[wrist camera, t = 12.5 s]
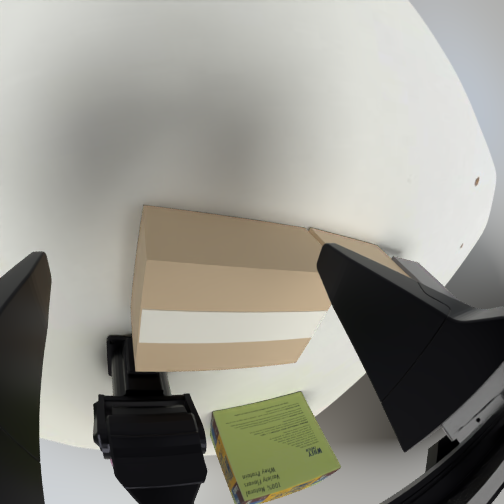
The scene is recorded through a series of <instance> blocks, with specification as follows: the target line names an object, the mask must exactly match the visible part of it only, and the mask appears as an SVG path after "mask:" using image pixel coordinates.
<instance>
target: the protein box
mask: <svg viewBox="0 0 504 504" xmlns="http://www.w3.org/2000/svg"><path fill="white" fill-rule="evenodd" d="M210 436H211V439H212V442H213V445H214V448H215V451H216V454H217V457H218V460H219V463H220V465H221V468H222V471H223V473H224V476H225V479H226V482H227V484H228V487H229V490H230V492H231V495H232V498H233V500H234V503H235V504H261V503H264V502H268V501H271V500H274V499H277V498H280V497H283V496H286V495H289V494H292V493H294V492H297V491H300V490H302V489H305V488H307V487H310V486H312V485H315V484H317V483H319V482H321V481H322V480H324V479H325V478H327V477H328V476H330V475H331V474H333V473H334V472H336V471H337V470H338V469H340V468H341V466H340V464H339V462H338V460H337V458H336V456H335V454H334V453H333V451H332V449H331V447H330V445H329V443H328V441H327V440H326V438H325V436H324V434H323V432H322V430H321V428H320V427H319V425H318V423H317V421H316V419H315V417H314V415H313V413H312V411H311V409H310V408H309V406H308V404H307V402H306V400H305V398H304V396H303V394H302V392H297V393H293V394H290V395H286V396H282V397H278V398H274V399H270V400H266V401H262V402H257V403H253V404H248V405H244V406H239V407H234V408H229V409H224V410H219V411H214V412H212V422H211V433H210Z"/></svg>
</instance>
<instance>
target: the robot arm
mask: <svg viewBox="0 0 504 504" xmlns="http://www.w3.org/2000/svg"><path fill="white" fill-rule="evenodd" d="M316 266H317V271H318V273H319V275H320V278H321V280H322V283H323V285H324V287H325V290H326V292H327V295H328V297H329V300H330V302H331V304H332V306H333V308H334V310H335V312H336V314H337V316H338V318H339V320H340V321H341V323H342V325H343V327H344V329H345V331H346V333H347V335H348V337H349V339H350V341H351V343H352V345H353V347H354V349H355V351H356V353H357V355H358V357H359V359H360V361H361V363H362V365H363V367H364V369H365V371H366V373H367V375H368V377H369V378H370V381H371V383H372V385H373V387H374V389H375V391H376V393H377V395H378V397H379V399H380V402H381V404H382V406H383V408H384V410H385V412H386V415H387V417H388V419H389V421H390V423H391V425H392V428H393V430H394V432H395V434H396V436H397V439H398V441H399V443H400V445H401V448H402V450H403V451H404V452H407V451H408V450H410V449H411V448H413V447H414V446H416V445H417V444H419V443H420V442H422V441H423V440H425V439H426V438H427V437H429V436H430V435H431V434H433V433H434V432H436V431H437V430H438V429H439V428H441V427H442V428H443V430H444V431H445V433H446V434H447V435H446V436H444V437H443V438H442V439H441V440H439V441H438V442H437V443H436V444H434V445H433V446H432V447H430V448H429V449H428V456H427V464H426V471H425V473H424V474H423V475H422V476H420V477H419V478H417V479H416V480H415V481H413V482H412V483H411V484H409V485H408V486H406V487H405V488H404V489H402V490H400V491H399V492H397V493H396V494H394V495H393V496H392V497H390V498H388V499H387V500H385V501H383V502H382V503H380V504H491V503H492V502H493V501H494V500H495V498H496V497H497V496H498V494H499V493H500V492H501V490H502V489H503V488H504V306H503V307H497V308H492V309H478V308H474V307H471V306H469V305H467V304H465V303H463V302H461V301H458V300H456V299H454V298H452V297H449V296H447V295H445V294H443V293H441V292H439V291H436V290H434V289H432V288H430V287H428V286H426V285H424V284H422V283H420V282H417V281H416V280H414V279H411V278H409V277H407V276H405V275H403V274H401V273H399V272H397V271H395V270H393V269H391V268H388V267H386V266H384V265H382V264H380V263H378V262H376V261H373V260H371V259H369V258H367V257H365V256H363V255H360V254H358V253H356V252H354V251H352V250H349V249H347V248H345V247H343V246H341V245H338V244H336V243H325V244H324V245H323V246H322V248H321V251H320V254H319V257H318V260H317V265H316ZM50 291H51V273H50V269H49V265H48V260H47V256H46V253H45V252H32V253H31V254H29V255H28V256H27V257H26V258H24V259H23V260H22V261H20V262H19V263H18V264H17V265H15V266H14V267H13V268H12V269H11V270H9V271H8V272H7V273H6V274H4V275H3V276H2V277H1V278H0V504H45V502H44V495H43V486H42V476H41V464H40V463H39V462H40V446H39V411H40V390H41V377H42V366H43V357H44V349H45V342H46V335H47V328H48V315H49V302H50ZM107 358H108V374H109V375H110V376H112V385H113V396H104V395H100V394H99V395H98V402H96V403H94V404H93V406H94V429H93V440H94V442H95V443H96V444H97V445H98V446H99V447H100V449H101V451H102V452H103V456H104V458H105V459H112V463H113V469H114V474H115V476H116V478H117V479H118V481H119V482H120V483H121V484H122V485H123V486H124V488H125V489H126V490H127V491H128V492H129V493H130V495H131V496H132V497H133V498H134V499H135V500H136V501H137V502H138V503H139V504H194V500H195V498H196V495H197V493H198V490H199V488H200V485H201V483H204V481H205V479H206V475H207V468H206V464H205V461H204V457H203V454H205V452H206V437H205V431H204V428H203V424H202V422H201V420H200V417H199V415H198V413H197V410H196V408H195V406H194V404H193V401H192V399H191V396H190V394H183V395H171V392H170V387H169V382H168V377H167V372H138V371H135V361H134V351H133V339H132V337H117V336H109V337H108V338H107Z"/></svg>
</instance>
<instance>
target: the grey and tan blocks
mask: <svg viewBox="0 0 504 504" xmlns="http://www.w3.org/2000/svg"><path fill="white" fill-rule="evenodd" d="M308 232H309V233H310V234H311V235H312V236H313V237H314V238H315V239H316V240H317V241H318V242H319V243H320V244H321V245H322V246H323V245H324V244H325V243H336V244H338V245H341V246H343V247H345V248H347V249H349V250H352V251H354V252H356V253H358V254H360V255H363V256H365V257H367V258H369V259H371V260H373V261H376V262H378V263H380V264H382V265H384V266H386V267H388V268H391V269H393V270H395V271H397V272H399V273H401V274H403V275H405V276H407V277H409V278H411V279H414V280H416V281H417V282H420V283H422V284H424V285H426V286H428V287H430V288H432V289H434V290H436V291H439V292H441V293H443V294H445V295H447V296H449V297H452V298H454V299H456V300H458V299H457V298H456V297H455V296H454V295H452V294H451V293H450V292H449V291H448V290H447V289H446V288H445V287H444V286H443V285H442V284H441V283H440V282H439V281H438V280H437V279H436V278H435V277H433V276H432V275H431V274H430V273H429V272H428V271H427V270H426V269H425V268H424V267H422V266H421V265H420V264H419V263H418V262H414V261H410V260H406V259H402V258H399V257H395V256H393V257H392V259H391V258H390V257H389V256H388V255H387V254H386V253H385V252H384V251H382V250H381V249H380V248H379V247H378V246H377V245H373V244H370V243H366V242H363V241H359V240H355V239H352V238H348V237H344V236H340V235H337V234H333V233H329V232H325V231H321V230H317V229H313V228H310V229H309V231H308ZM458 301H459V300H458Z"/></svg>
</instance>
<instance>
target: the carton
mask: <svg viewBox="0 0 504 504" xmlns="http://www.w3.org/2000/svg"><path fill="white" fill-rule="evenodd" d="M321 248H322V246H321V244H320V243H319V242H318V241H317V240H316V239H315V238H314V237H313V236H312V235H311V234H310V233H309V232H308V231H307V230H306V229H305V228H302V227H296V226H290V225H284V224H277V223H271V222H264V221H258V220H251V219H244V218H237V217H230V216H223V215H216V214H209V213H202V212H194V211H187V210H179V209H171V208H163V207H155V206H147V205H143V211H142V217H141V223H140V230H139V237H138V244H137V251H136V259H135V268H134V277H133V286H132V297H131V325H132V339H133V351H134V361H135V371H138V372H176V371H206V370H225V369H239V368H251V367H262V366H271V365H280V364H289V363H296V362H297V360H298V358H299V357H300V355H301V354H302V352H303V351H304V349H305V347H306V346H307V344H308V343H309V341H310V339H311V338H312V336H313V335H314V333H315V331H316V330H317V328H318V326H319V325H320V323H321V321H322V320H323V318H324V316H325V315H326V313H327V311H328V309H329V307H330V306H331V302H330V300H329V297H328V295H327V292H326V290H325V287H324V285H323V283H322V280H321V278H320V275H319V273H318V271H317V266H316V265H317V260H318V257H319V254H320V251H321Z"/></svg>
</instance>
